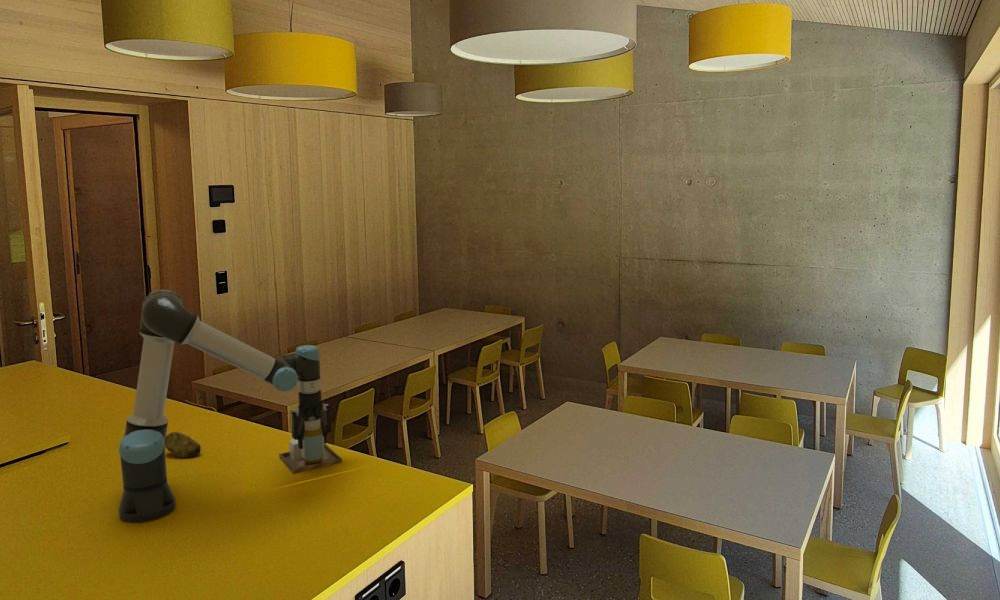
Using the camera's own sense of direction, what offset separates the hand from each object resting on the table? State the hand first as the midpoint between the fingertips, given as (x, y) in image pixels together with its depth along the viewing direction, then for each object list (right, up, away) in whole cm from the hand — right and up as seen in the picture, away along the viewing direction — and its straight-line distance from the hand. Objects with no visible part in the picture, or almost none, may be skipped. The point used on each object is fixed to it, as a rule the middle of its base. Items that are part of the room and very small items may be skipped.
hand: (313, 454), depth 239 cm
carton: (-4, -2, +7) cm, 8 cm away
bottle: (0, -2, 0) cm, 2 cm away
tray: (-2, -3, +3) cm, 5 cm away
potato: (-49, -2, +8) cm, 50 cm away
